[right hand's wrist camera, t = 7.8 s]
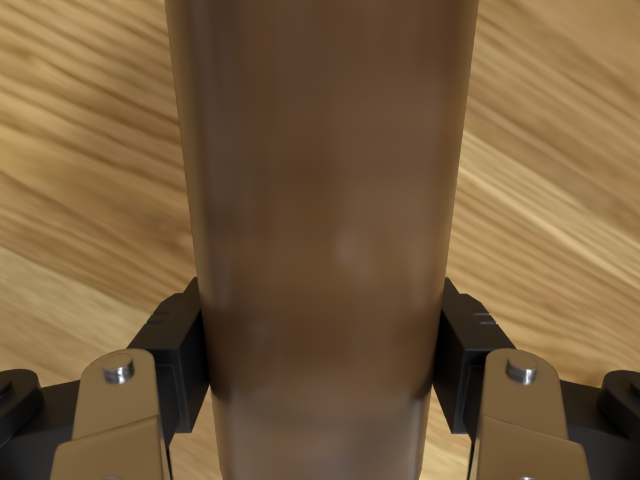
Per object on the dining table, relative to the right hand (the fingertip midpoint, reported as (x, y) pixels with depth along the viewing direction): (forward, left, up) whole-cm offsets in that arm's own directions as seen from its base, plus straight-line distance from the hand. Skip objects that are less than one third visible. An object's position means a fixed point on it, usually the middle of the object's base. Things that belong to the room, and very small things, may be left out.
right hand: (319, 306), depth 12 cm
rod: (-2, +8, -1) cm, 8 cm away
